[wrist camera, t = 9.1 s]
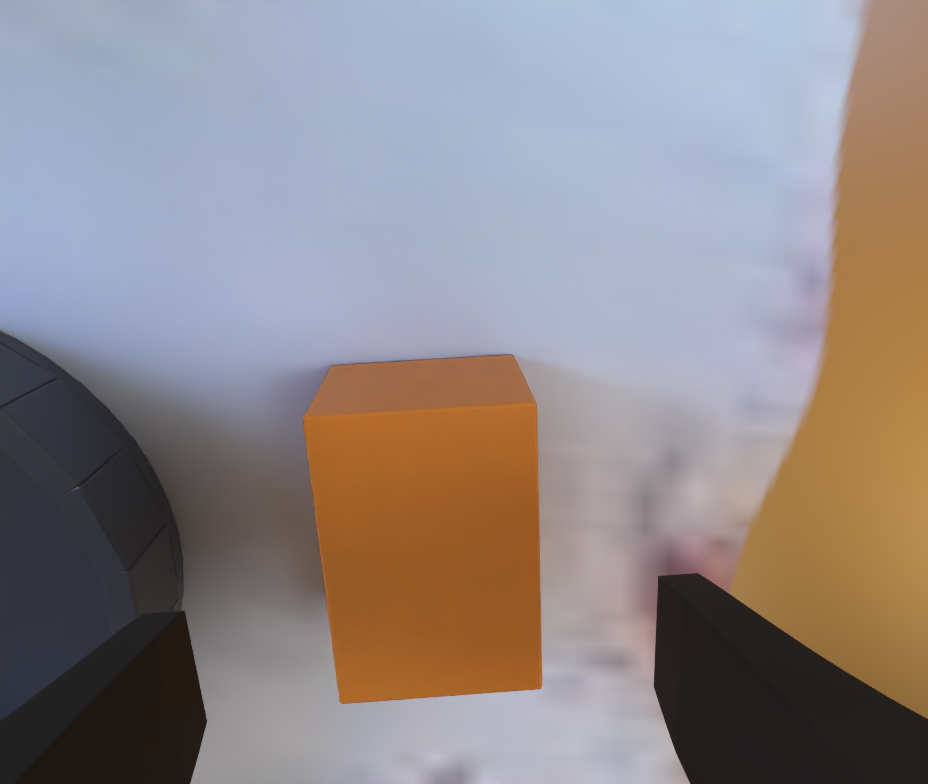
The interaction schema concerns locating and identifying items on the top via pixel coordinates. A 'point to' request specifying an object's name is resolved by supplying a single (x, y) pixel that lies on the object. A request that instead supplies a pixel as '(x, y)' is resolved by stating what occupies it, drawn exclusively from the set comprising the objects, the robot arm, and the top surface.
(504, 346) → the top surface
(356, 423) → the soap
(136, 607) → the tin
